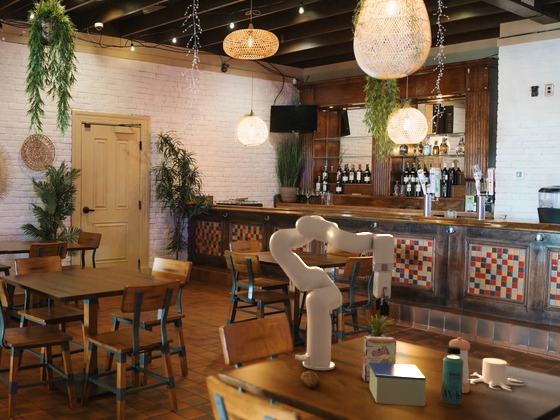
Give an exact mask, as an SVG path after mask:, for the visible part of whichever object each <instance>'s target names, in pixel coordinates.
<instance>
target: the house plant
mask: <svg viewBox="0 0 560 420" xmlns="http://www.w3.org/2000/svg"><path fill="white" fill-rule="evenodd" d="M386 318H387V316H385V317H384V316H381V317H380V319H379V318H378V315H377V314H375V317H374V316H373V315H372V314H370V319H368V318H367V317H365V319H366V320H367V322H368V323H369V324H370V327H369V326H367V325H364V326H363V328H367V329H368V330H370V331H371V334H369V335H368V336H371V337H386V335H383V334H384V333H386V332H388V333H391V328H392V326H389V327H386V326H387V325H393V324H394V322H393V321H394V320H396V319H388V320H386Z"/></svg>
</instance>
